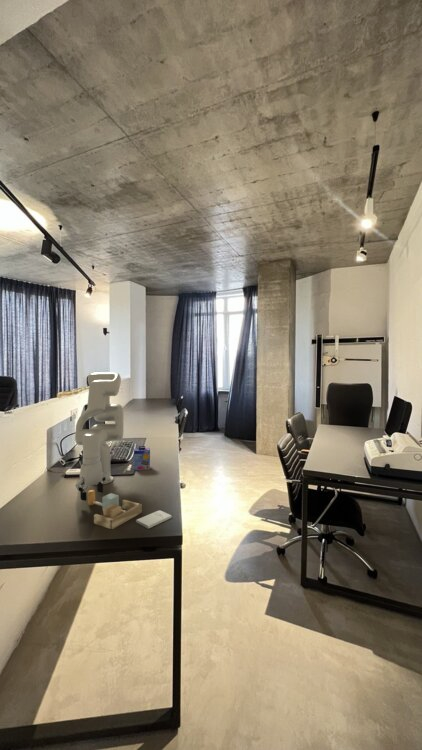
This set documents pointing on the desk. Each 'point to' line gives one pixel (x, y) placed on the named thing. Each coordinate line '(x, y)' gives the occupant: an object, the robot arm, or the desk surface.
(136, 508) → the shelf lanes
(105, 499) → the block
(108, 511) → the plain block
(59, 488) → the desk surface
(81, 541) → the desk surface
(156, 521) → the external hard drive
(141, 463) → the ink cartridge box
